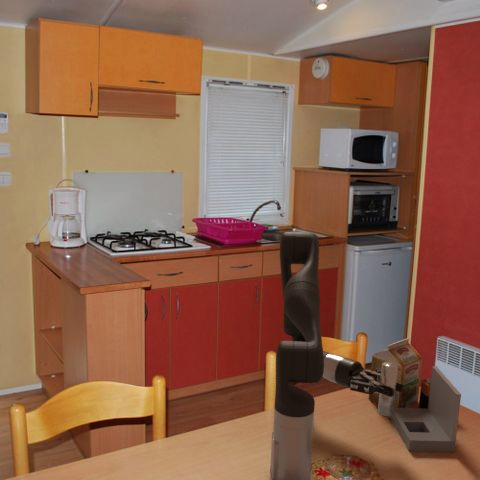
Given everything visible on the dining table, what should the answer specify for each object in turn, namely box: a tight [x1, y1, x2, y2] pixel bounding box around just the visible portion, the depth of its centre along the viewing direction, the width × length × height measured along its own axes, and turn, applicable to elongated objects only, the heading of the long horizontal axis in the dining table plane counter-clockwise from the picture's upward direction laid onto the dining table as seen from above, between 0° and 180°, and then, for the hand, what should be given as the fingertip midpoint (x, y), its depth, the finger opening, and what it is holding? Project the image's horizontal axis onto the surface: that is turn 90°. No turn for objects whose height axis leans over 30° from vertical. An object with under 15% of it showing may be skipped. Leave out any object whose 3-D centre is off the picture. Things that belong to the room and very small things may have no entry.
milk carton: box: [368, 338, 423, 408], centre depth 181 cm, size 11×11×19 cm
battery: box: [418, 378, 431, 409], centre depth 176 cm, size 4×7×10 cm, turn 100°
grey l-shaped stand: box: [389, 365, 462, 453], centre depth 161 cm, size 12×18×16 cm, turn 1°
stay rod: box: [377, 362, 398, 417], centre depth 154 cm, size 4×4×13 cm
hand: (397, 390), depth 152 cm, fingers closed on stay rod, 4 cm apart
